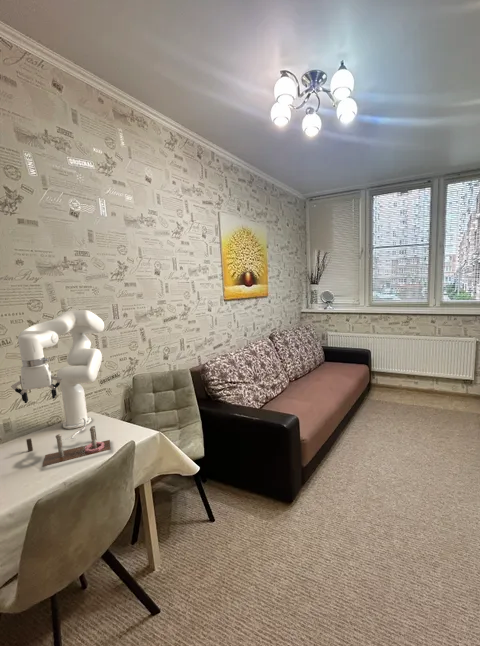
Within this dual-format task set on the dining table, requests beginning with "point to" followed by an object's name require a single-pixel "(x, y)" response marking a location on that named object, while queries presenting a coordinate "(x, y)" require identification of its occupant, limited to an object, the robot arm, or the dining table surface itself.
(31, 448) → the brass ring
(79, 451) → the peg rack
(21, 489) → the dining table surface
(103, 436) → the dining table surface
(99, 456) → the dining table surface
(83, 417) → the hook
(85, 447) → the pink ring
